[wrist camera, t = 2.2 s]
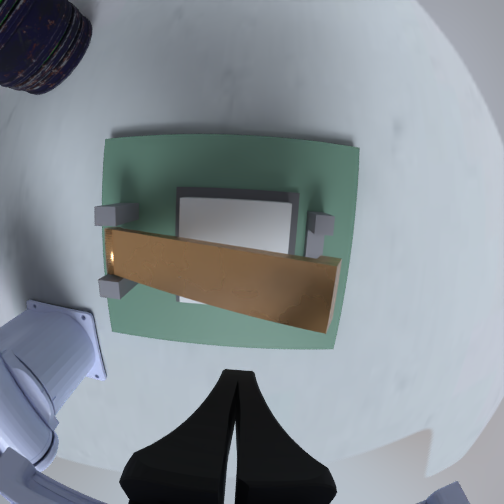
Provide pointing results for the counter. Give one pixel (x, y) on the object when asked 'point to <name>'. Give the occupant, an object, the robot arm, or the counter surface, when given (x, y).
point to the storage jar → (40, 43)
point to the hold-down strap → (229, 276)
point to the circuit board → (229, 169)
